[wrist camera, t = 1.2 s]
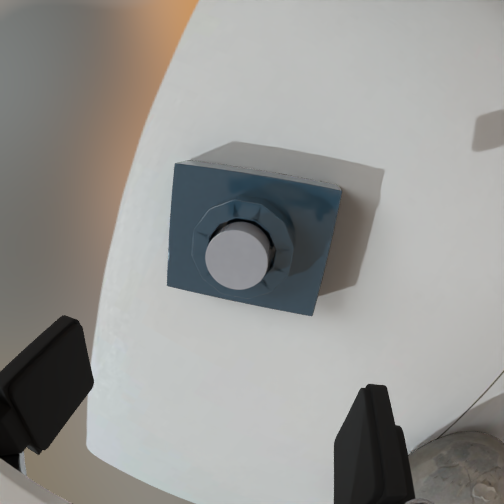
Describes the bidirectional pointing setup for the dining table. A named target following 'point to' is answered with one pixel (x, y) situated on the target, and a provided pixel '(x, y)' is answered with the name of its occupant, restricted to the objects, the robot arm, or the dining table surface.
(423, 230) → the dining table surface
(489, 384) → the dining table surface
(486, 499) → the bowl
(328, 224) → the button housing
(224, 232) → the grey button cap
